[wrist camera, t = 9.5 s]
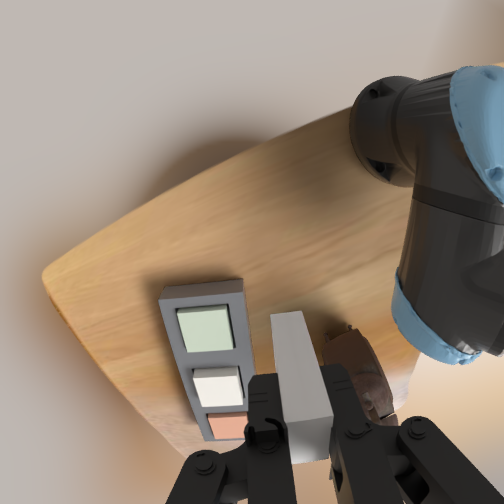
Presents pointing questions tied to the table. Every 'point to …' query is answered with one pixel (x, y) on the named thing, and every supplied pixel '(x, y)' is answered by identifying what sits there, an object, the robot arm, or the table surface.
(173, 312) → the keypad
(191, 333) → the key sage
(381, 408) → the alarm clock
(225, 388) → the key offwhite
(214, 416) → the key terracotta
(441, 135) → the robot arm
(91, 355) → the table surface
